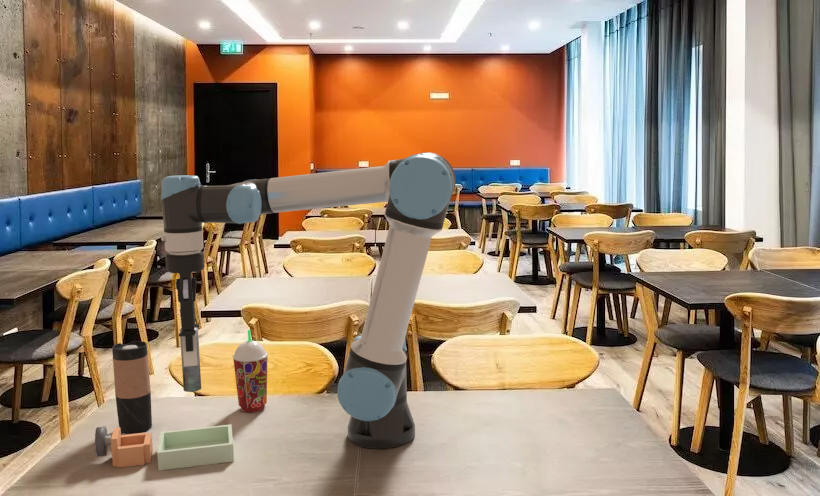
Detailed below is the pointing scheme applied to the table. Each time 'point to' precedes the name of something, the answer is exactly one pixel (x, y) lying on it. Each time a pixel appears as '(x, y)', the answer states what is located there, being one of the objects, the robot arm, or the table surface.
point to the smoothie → (251, 375)
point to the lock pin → (191, 370)
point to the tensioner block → (124, 447)
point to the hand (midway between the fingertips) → (190, 362)
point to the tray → (195, 447)
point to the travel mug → (132, 387)
